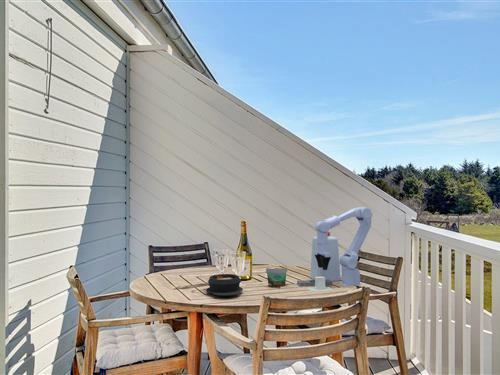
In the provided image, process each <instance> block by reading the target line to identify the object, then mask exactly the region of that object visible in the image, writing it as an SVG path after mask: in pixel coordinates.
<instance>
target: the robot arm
mask: <svg viewBox="0 0 500 375" xmlns="http://www.w3.org/2000/svg"><path fill="white" fill-rule="evenodd" d="M373 215H374V214H373V212H372V209H371V208H369V207H368V206H364V207H363V206H357V207H354V208H352V209H349V210H347V211H345V212H344V213H341V214H339V215H338V216H337V215H332V214H331V215H330V217H328V218H326V219H325V218H324V219H323V220H321V221H317V223H316V224H315V226H314V229H315V230H316V236H317V252H315V253H317V255H315V257H316V260H317V263H318V267H319V268H323V270H327V268H328V264H329V261H330V259H331V257H329V253H328V232H330V230H332V229H333V228H336V227H338V226H340V224H341V223H342V222H343V221H345V220H349V219H351V218H354V217H355V219H356V220H357V221H358V223H359V227H358V229H357V231H356V234H355V235H354V237H353V239H352V241H351V243H350V245H349V247H348V250H346V251H345V252H344V254H342V256H340V257H339V264H340V266H341V282H339V281H338V282H339V284H340V285H342V286H345V287H347V286H348V287H349V286H351V287H352V286H354V287H358V286H362V285H361V271H360V269H359V268H357V266H358V261H359V255H358V253H359V252H360V249H361V248H362V245H363V244H364V242H365V240H366V239H367V238H366V237H367V235H368V233H369V231H370V229H371V227H372V218H373Z"/></svg>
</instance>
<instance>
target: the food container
mask: <svg viewBox="0 0 500 375" xmlns="http://www.w3.org/2000/svg"><path fill="white" fill-rule="evenodd" d="M265 272H266V276H267V285H268V287H270V288H281V287H285V286H286V281H287V272H289V271H288V268H287V266H285V267H283V268H279V267H276V268H275V267H274V268H270V267H266V268H265Z"/></svg>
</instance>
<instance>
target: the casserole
mask: <svg viewBox="0 0 500 375" xmlns="http://www.w3.org/2000/svg"><path fill="white" fill-rule="evenodd" d="M207 283H208V285H209V287H207V288H206V290H205V291H206V292H207V293H209V294H212V295H214V296H218V297H228V296H230V297H231V296H237V295H239V294H240V293H241V292H242V291H244V288H242V286H240V285H241V283H242V280H241V278H240V276H239V275H237V274H233V273H232V274H231V273H220V274H214V275H210V276H209V278H208V280H207Z"/></svg>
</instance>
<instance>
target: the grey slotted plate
mask: <svg viewBox="0 0 500 375" xmlns="http://www.w3.org/2000/svg"><path fill="white" fill-rule="evenodd" d="M296 284H297V286H299V287H301V288H302V287H315V280H314V279H301V280H296ZM330 286H333V281H330V280H329V279H325V287H330Z"/></svg>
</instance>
